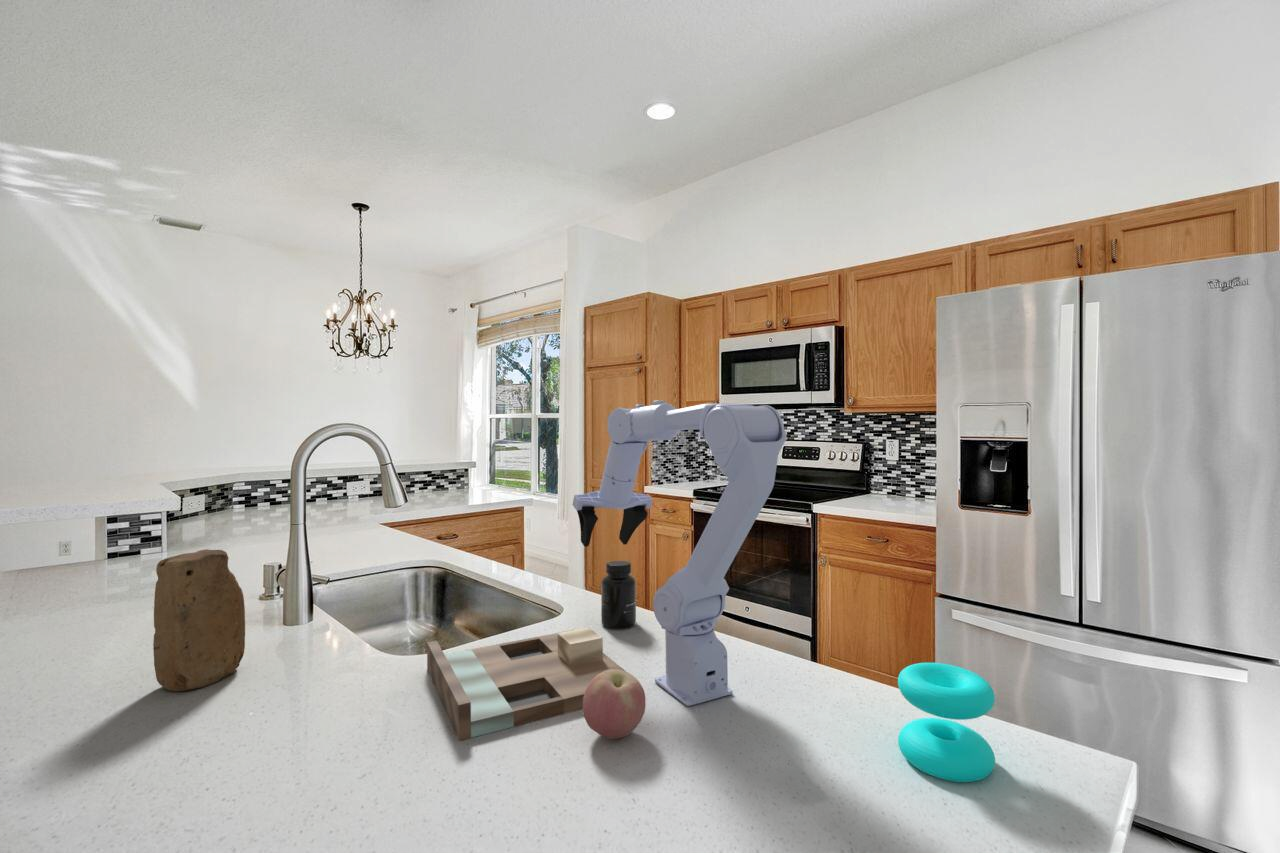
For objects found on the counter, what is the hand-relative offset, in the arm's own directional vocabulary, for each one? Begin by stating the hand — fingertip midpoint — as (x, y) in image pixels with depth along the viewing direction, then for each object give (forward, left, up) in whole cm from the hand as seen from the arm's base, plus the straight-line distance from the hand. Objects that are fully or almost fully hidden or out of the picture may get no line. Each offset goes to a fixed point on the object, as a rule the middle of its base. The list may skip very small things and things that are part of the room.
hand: (603, 542), depth 107 cm
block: (+18, +61, -18) cm, 66 cm away
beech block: (-9, +8, -16) cm, 20 cm away
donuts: (-53, -19, -18) cm, 59 cm away
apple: (-29, +12, -18) cm, 37 cm away
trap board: (-9, +16, -18) cm, 26 cm away
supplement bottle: (+8, -7, -18) cm, 21 cm away
